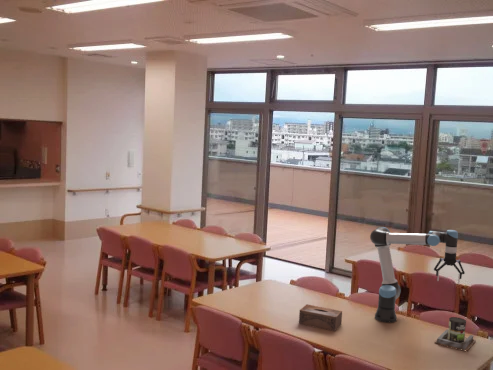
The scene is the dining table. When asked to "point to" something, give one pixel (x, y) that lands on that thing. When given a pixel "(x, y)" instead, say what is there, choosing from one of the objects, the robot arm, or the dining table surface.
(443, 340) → the rail dock
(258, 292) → the dining table surface
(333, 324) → the tissue box cover
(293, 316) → the dining table surface
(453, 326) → the coffee can
